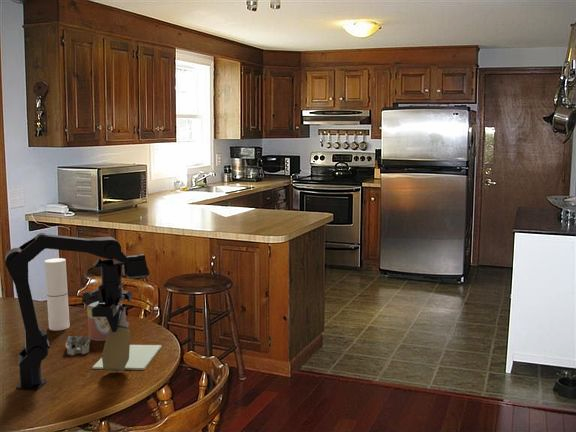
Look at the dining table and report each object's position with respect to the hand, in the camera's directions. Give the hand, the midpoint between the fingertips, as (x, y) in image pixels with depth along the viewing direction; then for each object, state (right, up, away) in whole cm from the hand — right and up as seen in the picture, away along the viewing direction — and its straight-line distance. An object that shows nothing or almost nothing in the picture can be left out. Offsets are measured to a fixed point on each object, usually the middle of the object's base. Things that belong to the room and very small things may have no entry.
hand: (114, 331), depth 193 cm
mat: (+1, -11, +14) cm, 17 cm away
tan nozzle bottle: (0, -11, -1) cm, 11 cm away
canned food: (-13, -8, +36) cm, 39 cm away
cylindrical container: (-32, -7, +45) cm, 55 cm away
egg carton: (-18, -10, +22) cm, 30 cm away
